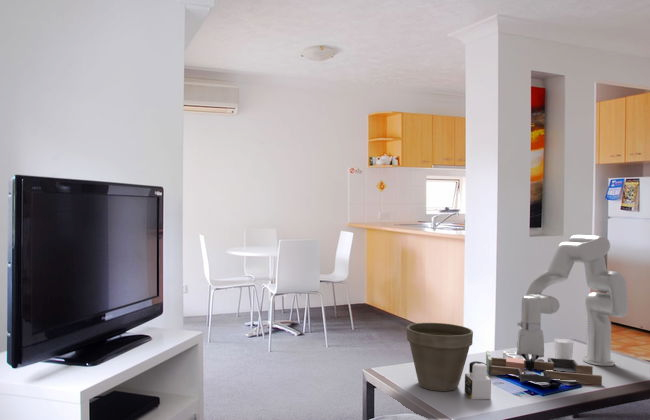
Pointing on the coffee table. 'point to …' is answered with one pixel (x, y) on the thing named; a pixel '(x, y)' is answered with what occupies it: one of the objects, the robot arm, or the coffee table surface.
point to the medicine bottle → (478, 382)
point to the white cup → (563, 348)
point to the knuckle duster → (517, 356)
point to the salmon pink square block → (515, 363)
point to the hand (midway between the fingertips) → (529, 370)
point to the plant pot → (439, 353)
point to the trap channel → (577, 371)
